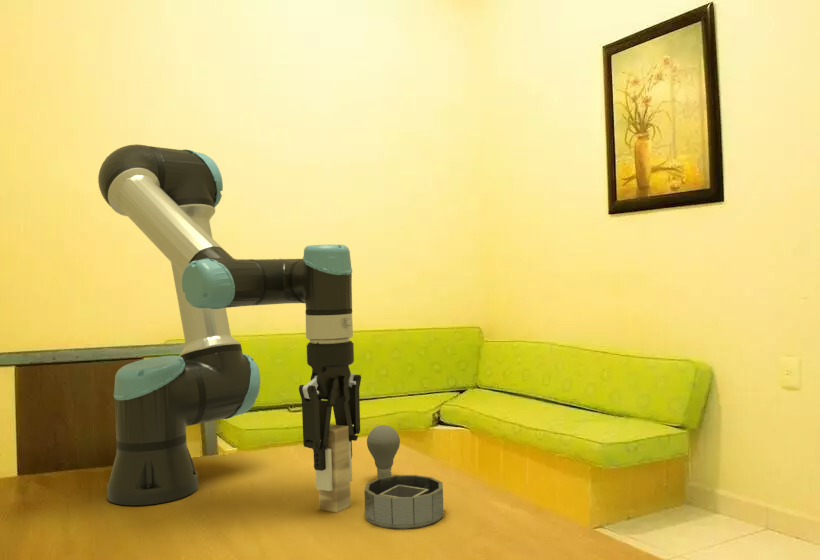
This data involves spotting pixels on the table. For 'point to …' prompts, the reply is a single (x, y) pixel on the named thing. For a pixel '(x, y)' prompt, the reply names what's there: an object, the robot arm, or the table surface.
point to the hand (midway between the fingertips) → (334, 484)
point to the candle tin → (404, 501)
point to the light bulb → (383, 448)
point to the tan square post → (338, 471)
